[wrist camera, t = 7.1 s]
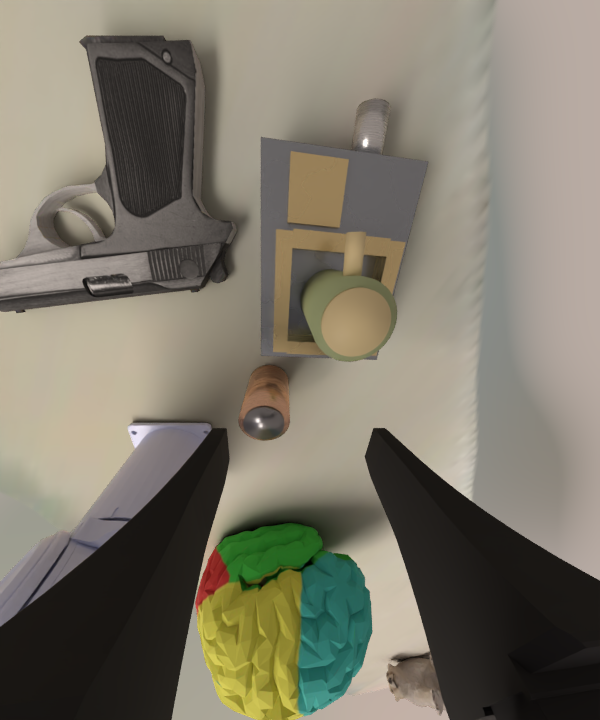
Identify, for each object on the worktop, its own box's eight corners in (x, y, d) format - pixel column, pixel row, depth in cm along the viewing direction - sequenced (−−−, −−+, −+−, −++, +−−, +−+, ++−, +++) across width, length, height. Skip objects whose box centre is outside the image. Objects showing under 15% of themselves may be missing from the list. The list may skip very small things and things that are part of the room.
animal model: (462, 759, 56) (403, 762, 61) (466, 690, 75) (421, 696, 80) (425, 669, 66) (377, 677, 70) (437, 628, 85) (399, 637, 90)
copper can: (288, 398, 22) (289, 442, 16) (250, 398, 21) (239, 443, 16) (288, 365, 20) (290, 403, 15) (248, 364, 20) (235, 403, 15)
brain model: (349, 497, 30) (396, 695, 16) (359, 558, 38) (395, 722, 25) (191, 521, 31) (116, 721, 18) (235, 574, 40) (205, 737, 26)
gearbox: (361, 343, 20) (384, 368, 15) (264, 339, 19) (259, 364, 14) (406, 135, 14) (469, 74, 9) (265, 112, 13) (257, 32, 8)
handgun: (-122, 88, 11) (28, 310, 17) (-199, 56, 10) (-2, 316, 15) (204, 60, 12) (248, 284, 17) (190, 26, 10) (245, 287, 15)
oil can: (352, 326, 15) (391, 362, 10) (300, 327, 15) (311, 366, 10) (362, 240, 13) (419, 229, 8) (300, 240, 13) (314, 228, 7)
